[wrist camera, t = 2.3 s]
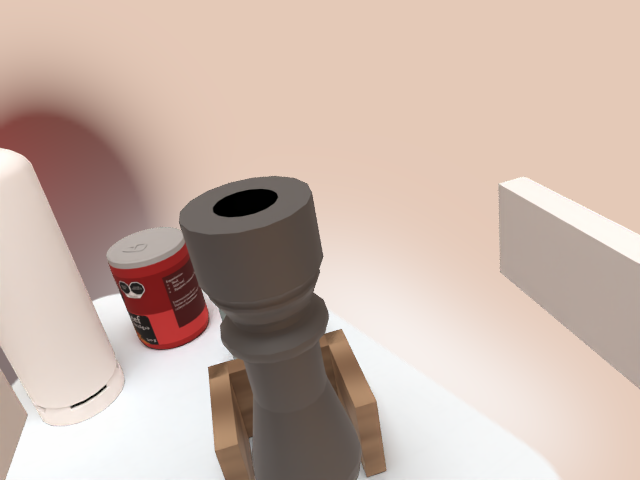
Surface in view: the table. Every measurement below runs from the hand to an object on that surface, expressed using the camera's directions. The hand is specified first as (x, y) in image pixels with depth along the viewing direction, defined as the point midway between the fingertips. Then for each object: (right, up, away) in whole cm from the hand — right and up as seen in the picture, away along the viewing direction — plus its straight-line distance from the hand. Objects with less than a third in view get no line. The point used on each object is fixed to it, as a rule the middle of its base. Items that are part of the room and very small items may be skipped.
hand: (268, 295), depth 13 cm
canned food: (-15, -9, +45) cm, 49 cm away
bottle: (-22, -14, +38) cm, 46 cm away
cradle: (0, -15, +27) cm, 31 cm away
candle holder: (+2, -19, +20) cm, 28 cm away
